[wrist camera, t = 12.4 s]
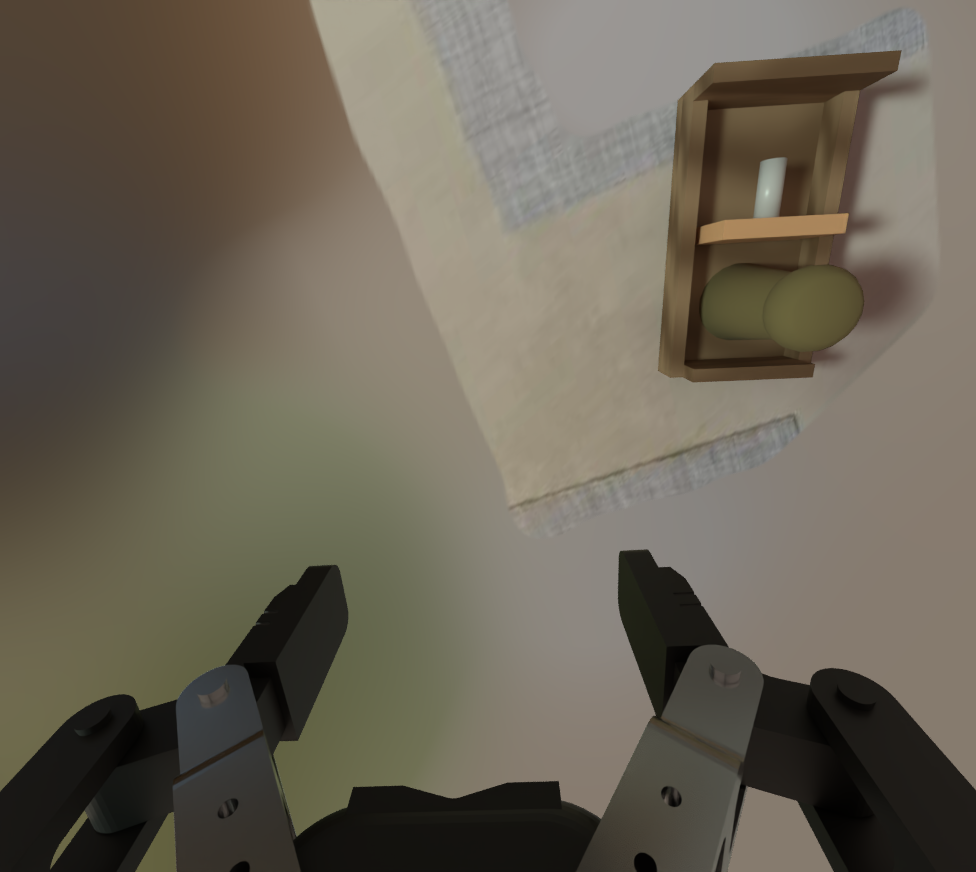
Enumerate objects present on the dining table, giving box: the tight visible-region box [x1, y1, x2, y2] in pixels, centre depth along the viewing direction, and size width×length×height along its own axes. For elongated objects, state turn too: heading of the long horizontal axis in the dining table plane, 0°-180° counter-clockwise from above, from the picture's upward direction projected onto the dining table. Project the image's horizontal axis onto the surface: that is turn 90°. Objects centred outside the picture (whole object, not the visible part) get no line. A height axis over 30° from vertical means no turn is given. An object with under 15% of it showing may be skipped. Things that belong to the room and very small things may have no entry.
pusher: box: [695, 157, 849, 245], centre depth 32 cm, size 5×8×5 cm, turn 93°
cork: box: [699, 263, 864, 352], centre depth 32 cm, size 6×6×11 cm
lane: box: [658, 51, 901, 382], centre depth 33 cm, size 20×11×6 cm, turn 3°
